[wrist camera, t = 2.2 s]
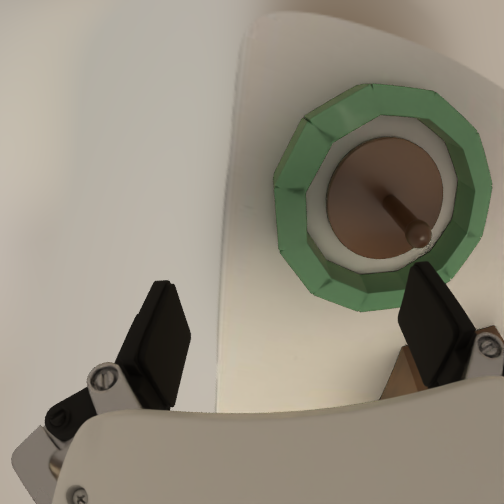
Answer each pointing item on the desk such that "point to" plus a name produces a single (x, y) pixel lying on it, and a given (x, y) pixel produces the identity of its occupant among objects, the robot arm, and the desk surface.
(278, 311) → the desk surface
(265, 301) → the desk surface
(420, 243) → the peg stand
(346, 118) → the ring
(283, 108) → the desk surface
